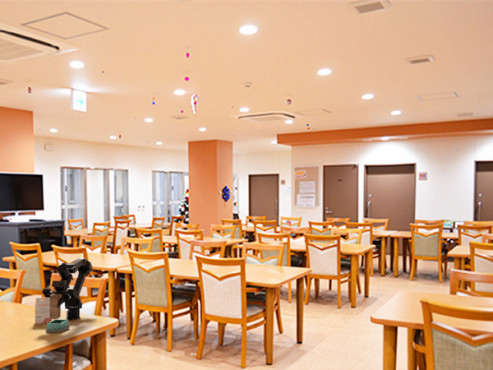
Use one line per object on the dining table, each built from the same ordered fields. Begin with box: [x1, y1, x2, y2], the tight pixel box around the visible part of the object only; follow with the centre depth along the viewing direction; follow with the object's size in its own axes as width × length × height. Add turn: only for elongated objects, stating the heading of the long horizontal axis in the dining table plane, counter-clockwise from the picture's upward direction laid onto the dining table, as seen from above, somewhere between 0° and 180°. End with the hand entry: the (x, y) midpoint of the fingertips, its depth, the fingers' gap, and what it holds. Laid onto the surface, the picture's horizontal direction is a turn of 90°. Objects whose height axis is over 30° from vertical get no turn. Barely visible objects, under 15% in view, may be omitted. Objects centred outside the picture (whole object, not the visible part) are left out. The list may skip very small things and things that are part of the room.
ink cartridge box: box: [34, 297, 53, 324], centre depth 248 cm, size 9×5×15 cm, turn 105°
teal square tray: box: [45, 318, 70, 334], centre depth 233 cm, size 12×12×4 cm
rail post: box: [50, 294, 62, 320], centre depth 232 cm, size 4×4×13 cm
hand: (53, 306), depth 231 cm, fingers closed on rail post, 4 cm apart
